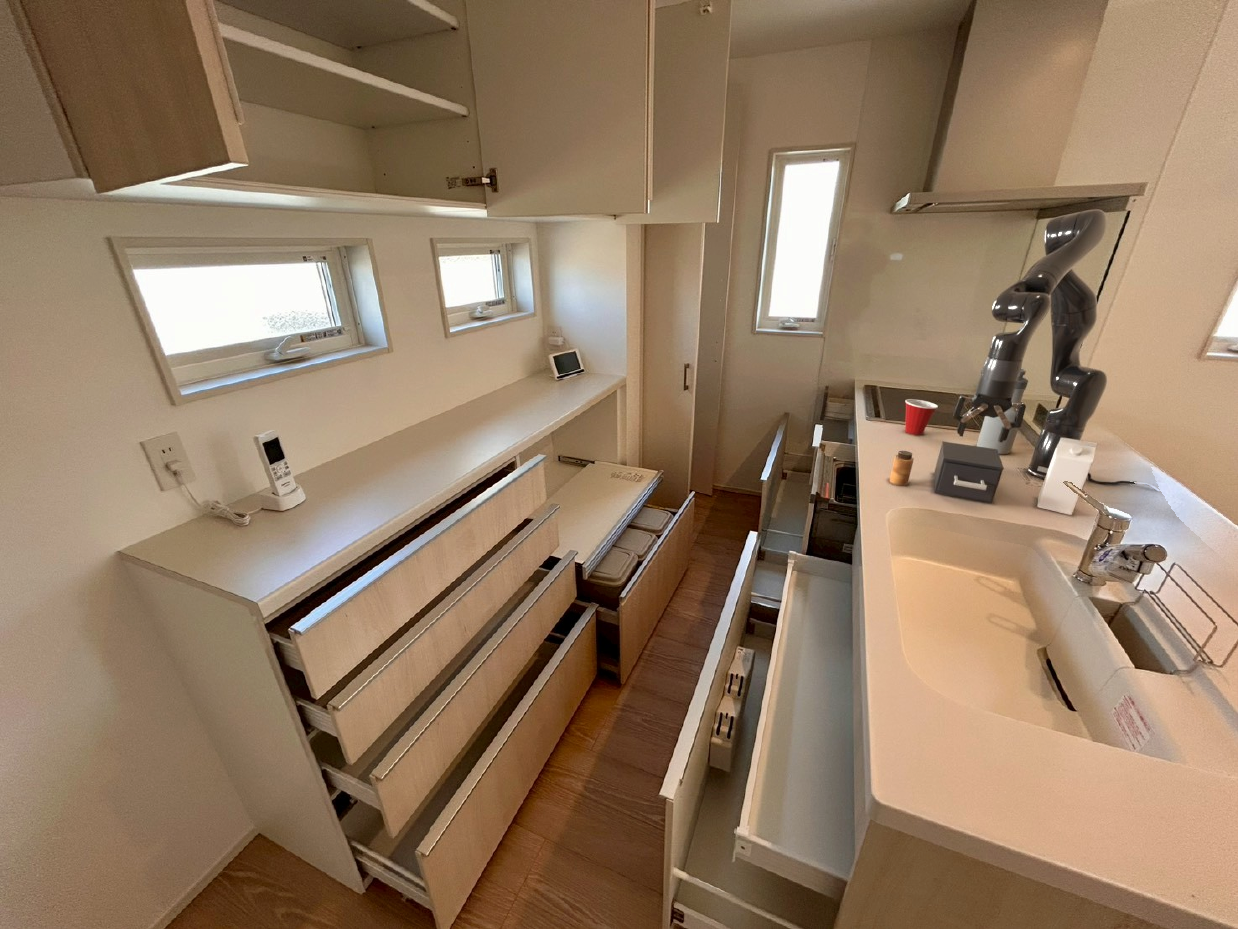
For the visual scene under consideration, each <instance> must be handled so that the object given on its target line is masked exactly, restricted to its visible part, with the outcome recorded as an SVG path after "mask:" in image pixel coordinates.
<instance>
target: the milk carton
mask: <svg viewBox="0 0 1238 929" xmlns="http://www.w3.org/2000/svg"><path fill="white" fill-rule="evenodd" d="M1097 446H1098V443H1097V442H1092V441H1086V440H1082V439H1081V440H1074V439H1068V438H1062V437H1061V439H1060V441H1059V443H1058V445H1057V447H1056V449H1055V452H1054V455H1053V458H1052V460H1051V463H1050V466H1049V469H1048V471H1047V474H1046V477H1045V479H1043V483H1042V486H1041V488H1040V491H1039V494H1038V496H1037V508H1040V509H1043V510H1047V511H1053V512H1056V513H1061V514H1065V515H1069V516H1072V515H1073V513H1074V511H1075V509H1076V505H1077V503H1078V500H1079V498H1080V495H1079V496H1078V494H1076V493H1074V492H1073V491H1072V490H1071V489H1070V488H1069V487H1067V486H1066V485H1065V484H1064V483H1063V482H1064V481H1068V482H1072V483H1073V485H1075V486H1076V487H1078V488H1079V489H1081V491H1083V487H1084V485H1085V483H1086V480H1087V479H1088V473H1090V470H1091V467H1092V465H1093V462H1094V458H1095V454H1096V450H1097Z"/></svg>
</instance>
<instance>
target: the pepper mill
mask: <svg viewBox="0 0 1238 929" xmlns="http://www.w3.org/2000/svg"><path fill="white" fill-rule="evenodd" d="M897 452H898V453H897V454H896V455H894V459H893V463H892V467H891V468H892V469H891V472H890V477H889V483H891V484H892V485H896V486H899V487H904V486H905V487H906V486H908V484H909V481H910V476H911V472H912V468H913V464H914V460H915V459H914V457H913V453H912V452H911V451H907V450H898V451H897Z"/></svg>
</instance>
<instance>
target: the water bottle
mask: <svg viewBox="0 0 1238 929" xmlns="http://www.w3.org/2000/svg"><path fill="white" fill-rule="evenodd" d="M1026 372H1027V371H1026V370H1025V369H1024V368H1021V372H1020V375H1019V378H1018V381H1017V384H1016V387H1015V390H1014V393H1013V396H1012V403H1020V402H1022V399H1023V397H1024V393H1025V390H1027V387H1028V383H1029V380H1028V378H1026V377H1024V376H1025V375H1026ZM1004 413H1005V415H1006V417H1007V419H1008V420H1009V422H1014V420H1015V416H1016V412H1015V411H1014V408H1013V407H1011V408H1010V409H1009V410H1007V411H1006V412H1004ZM983 418H984V419H983V421H982V426H981V428H980V432H979V436H978V439H977V443H976V446H978V447H985V448H991V449H997V450H998V453H999V455H1007V454H1010V453H1011V452H1012V449H1013V447H1014V444H1015V440H1016V438H1017V434H1018V431H1019V428H1011V429H1010V431H1009V434H1008V437H1007V439H1006V440H1005V441H1003V442H1002V443H1001V442H999V441H998V439H999V436H1000V433H1001V430H1002V426H1003V427H1004V424H1003V422H1002V421H1001V419H1000V417H995V418H991V417H989V416H984V417H983Z"/></svg>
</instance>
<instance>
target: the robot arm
mask: <svg viewBox="0 0 1238 929" xmlns="http://www.w3.org/2000/svg"><path fill="white" fill-rule="evenodd" d="M1107 228H1108V217H1107V215H1106V212H1105V211H1103V210H1102V209H1099V208H1098V209H1097V208H1096V209H1088V210H1083V211H1078V212H1073V213H1068V214H1063V215H1058V216H1055V217H1053V218H1051V219H1050V220H1049V221H1048V222H1047V224H1046V226H1045V228H1044V233H1043V244H1044V252H1045V256H1043V257H1042V258H1040V259H1039V260H1037V261H1036V262H1035V263H1034V264H1033V265H1032V266H1031V267H1030V268H1029V269H1028V270H1027V272H1026V273H1025V274H1024V276H1023V277H1022V278H1021V279H1020V280H1018V281H1017V282H1015V283H1013V284H1012V285H1010V286H1009V287H1008V288H1006V289H1004V290H1003V291H1002V292H1001V293H1000V294H998V296H997V297H996V298H995V300H994V302H993V304H992V307H991V315H992V317H993V319H995V320H996V321H998V322H1001V323H1012V324H1022V325H1021V327H1020V328H1019V329H1018V330H1016V331H1015V330H1014V331H1008V332H1007V331H1006V332H999V333H996V334H995V335H994V336H993V338H992V340H991V344H990V347H989V350H988V354H987V357H986V360H985V362H984V364H983V367H982V370H980V377H979V380H978V384H977V386H976V391H975V394H974V396H972V397H969V396H965V395H964V394H961V395H959V397H958V400H957V403H956V406H955V408H954V411H953V414H952V417H953V419H954V420H956V421H958V422H959V423H958V425H957V429H956V432H957V434H958V436H959V437H964V434H965V429H966V426H967V422H968V421H969V420H971V419H973V418H974V417H976V416H977V415H978V416H980V417H985V416H989V417H991V418H995V417H1000V419H1001V421H1002V422H1003V424H1004V427H1003V426H1002V430H1001V433H1000V436H999V439H998V441H999V442H1001V443H1002V442H1003V441H1005V440H1006V439H1007V437H1008V434H1009V431H1010V429H1011V428H1018V429H1020V428H1021V427H1022V424H1023V420H1024V416H1025V412H1026V408H1027V406H1026V405H1027V404H1026V403H1025V402H1023V401H1021V402H1020V403H1012V396H1013V393H1014V390H1015V387H1016V384H1017V381H1018V378H1019V375H1020V372H1021V369H1022V367H1023V366H1022V365H1023V362H1024V359H1025V355H1026V351H1027V349H1028V345H1029V343H1030V341H1031V340H1032V338H1033V335H1034V334H1035V332H1036V331H1037V329H1038V328H1039V326H1040V324H1041V323H1042V321H1043V320H1044V319H1045V318H1046V316H1047V315H1048V313H1049V311H1050V325H1051V352H1052V353H1051V354H1052V355H1051V367H1050V377H1049V378H1050V379H1049V382H1050V383H1049V384H1050V388H1051V390H1052V392H1053V393H1054V394H1055V395H1056V396H1057V395H1058V396H1060V397H1063V398H1067V399H1068V400H1067V402H1066V404H1065V405H1064V407H1053V408H1050V409H1048V411H1047V413H1046V415H1045V418H1044V422H1043V426H1042V428H1041V430H1040V433H1039V437H1038V440H1037V442H1036V446H1035V448H1034V450H1033V454H1032V457H1031V459H1030V462H1029V464H1028V467H1027V470H1026V472H1027V473H1028V474H1029V475H1031V476H1033V477H1036V478H1039V479H1043V480H1045V477H1046V474H1047V471H1048V469H1049V466H1050V463H1051V460H1052V458H1053V455H1054V452H1055V449H1056V447H1057V445H1058V443H1059V441H1060V439H1061V437H1062V438H1068V439H1074V440H1081V441H1082V437H1083V434H1084V432H1085V430H1086V426H1087V424H1088V422H1089V420H1090V419H1091V418H1092V417H1093V415H1094V414H1095V413H1096V410H1097V408H1098V406H1099V403H1100V402H1101V399H1102V397H1103V395H1104V392H1105V390H1106V388H1107V384H1108V375H1107V374H1106V372H1104V371H1103V370H1101V369H1097V368H1093V367H1088V366H1085V365H1082V364H1081V358H1080V353H1081V347H1082V344H1083V343H1084V341H1085V340H1086V339H1087V338H1088V336H1089V335H1090V333H1091V332H1092V330H1093V329H1094V327H1095V326H1096V323H1097V320H1098V299H1097V295H1096V293H1095V291H1094V290H1093V289H1092V288H1091V287H1090V286H1089V284H1087V282H1086V281H1084V279H1082V277H1080V276H1079V274H1078V273H1076V271H1075V270H1074V267H1075V266H1077V265H1078V263H1080V262H1081V261H1083V259H1084V258H1086V257H1087V256H1088V255H1089V254H1090V253H1091V252H1092V251H1094V250H1095V249H1096V248H1097V247H1098V246H1099V245H1100V244H1101V242H1102V241H1103V239H1104V237H1105V235H1106V232H1107ZM969 403H970V404H971V405H972V408H971V409H969V410H968V411H967V412H965V413H964V414H963V415H962V414H961V413H962V411H963V407H964V406H967V405H968V404H969ZM1011 407H1013V408H1014V411H1015V412H1016V416H1015V420H1014V422H1009V420H1008V419H1007V417H1006V415H1005V413H1004V412H1006V411H1007V410H1009V409H1010V408H1011ZM1087 481H1089V482H1091V483H1095V484H1099V485H1110V486H1111V485H1112V486H1113V485H1114V486H1116V485H1119V484H1127V485H1136V484H1135V483H1134V482H1135V481H1133V482H1130V481H1131V480H1117V481H1101V480H1095V479H1093V478H1092V474H1091V473H1090V472H1089V473H1088V475H1087Z"/></svg>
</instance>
